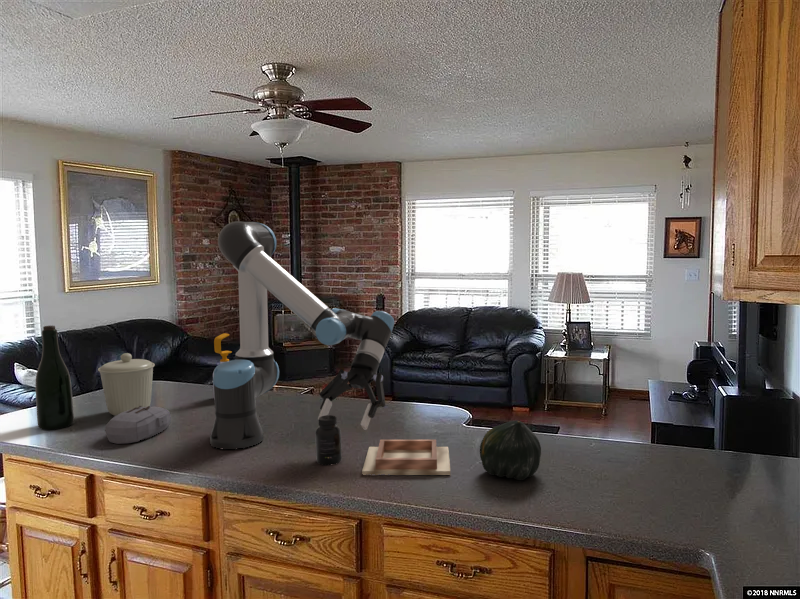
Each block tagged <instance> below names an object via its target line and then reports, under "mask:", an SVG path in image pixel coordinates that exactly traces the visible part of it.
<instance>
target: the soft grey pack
mask: <svg viewBox="0 0 800 599" xmlns="http://www.w3.org/2000/svg"><path fill="white" fill-rule="evenodd" d="M171 422H172V416H171V412H170V411H169V409H167V408H165V407H160V406H151V405H150V406H148V407H142V406H139V407H137V408H134V409H130V410H128V411H125V412H122V413H120V414H118V415H116V416H114V415H113V417H112V418H111V419H110V420H109V421H108V422H107V423H106V424H105V427H104V432H105V435H106V437H107V440H108V441H109V443H112V444H113V443H114V444H119V445H120V444H131V443H137V442H141V441H143V440H144V439H145V440H148V439H150V438H153V437H154V435H155V436H157V435H159V434H161V433H162V432H164V431H165V430H166V429H168V428H169V427H170V425H171ZM163 430H164V431H163ZM160 432H161V433H160ZM158 433H159V434H158ZM156 434H157V435H156ZM152 436H153V437H152ZM149 437H150V438H149ZM147 438H148V439H147ZM140 440H141V441H140ZM145 440H144V441H145Z"/></svg>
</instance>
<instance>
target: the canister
mask: <svg viewBox="0 0 800 599" xmlns="http://www.w3.org/2000/svg"><path fill="white" fill-rule="evenodd" d="M155 366H156V365H155V363H154V362H152V361H150V360H149V359H148V360H147V359H144V358H143V359H142V358H133V356H132V354H131V353H130V352H129V353H128V352H126V353H125V352H124V353H123V354H121V355H120V360H115V361H109V362H106V363H105V364H102V366H100V367H98V369H97V371H98V372H99V373H100V378H101V384H102V391H103V395H104V399H105V403H106V409H107V411H108V412H109V414H110V415H112V416H113V417H114V416H116V415H118V414H120V413H122V412H125V411H128V410H130V409H134V408H137V407H139V406H142V407H148V406H150V407H151V402H152V391H153V389H152V388H153V374H154V372H153V371H154V367H155Z"/></svg>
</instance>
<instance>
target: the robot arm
mask: <svg viewBox="0 0 800 599" xmlns="http://www.w3.org/2000/svg"><path fill="white" fill-rule="evenodd" d="M217 245H218V249H219V251H220V253H221V254H222V256H224V258H225V259H226V260H227V261H228V262H230V264H232V267H233V268H234V269H235V270H236V271H237V272H238V273H237V275H238V276H237V278H238V281H237V282H238V308H239V309H238V311H239V314H238V316H239V344H240V346H239V349H238V350H237V351H236V352H235V359H232V360H229V362H224V363H221V364H220V363H219V364H218V365H216V367H215V368H214V370H213V372H214V377H213V376H212V381H213V382H212V384H213V383H214V390H213V399H214V413H215V414H214V415H215V416H214V422H213V426H212V428H211V431H210V432H211V433H210V437H209V439H210V440H209V442H210V444H211V445H210V446H211V447H212V446H213V447H212V448H214V447H216V448H215V449H217V448H223V449H235V450H237V449H236V448H243V449H246V448H245V447H248V448H250V447H249V446H252V447H254V446H253V445H255V446H257V445H259V444H261V443H262V442H263V441H264V431H263V428H262V426H261V424H260V420H259V418H258V415H257V402H256V399H257V398H258V397H260V396H261V395H263V394H266V393H268V392H269V391H271V390H272V389H273V387H275V385H276V384H277V383H278V380H279V378H280V368H279V367H280V366H279V365H278V363H277V361H275V358H274V351H273V350H272V349H271V348H270V347H269V324H268V323H269V320H268V319H269V317H268V316H269V314H268V312H269V311H268V292H270V294H272V296H274V297H275V298H277V300H278V301H280V302H281V304H283V305H284V306H286V308H288V309H289V310H290V311H291V312H292V313H294V315H296V316H297V317H298V318H299V319H300V320H302V321H303V322H304V323H305V324H306V325H308V326H309V328H311V329H312V330H313V331H314V332H315V336H316V338H317V340H318V342H320V343H321V344H322V345H325V346H333V345H334V346H335V345H337V344H340V343H341V342H342V341H344V340H345V339H348V338H350V339H355V340H358V341H360V343H359V345H358V348H357V350H356V352H355V355H354V357H353V360H352V363H351V365H350V370H348V371H344V369H342V368H341V369H339V370H338V372H337V374H336V376H335V377H334V378H332V380H331V381H329V383H328V384H327V385H326V386H325V387H324V388H323V389H322V390H321V391H320V392H319V394H318V395H319V397H320V398H322V402H321V404H320V412H319V414H318V417H317V420H318V421H319V417H321V416H326V415H329V413H330V410H331V408H332V406H333V402H332V401H334V400H335V399H337V398H338V397H339V396H341V395H342V394H343V393H345V392H346V391H348V390H351V389H352V388H353V389H360V390H363V389H365V391H366V394H367V395H368V398H369V400H370V403H367V406H366V408H365V411H364V413H363V416H362V419H361V421H360V424H359V425H360V427H361V428H362V429H363V430H364V431H366V430H368V428H369V425H370V422H371V419H374V417H375V416H376V413H377V410H378V409H379V408H381V407H382V408H385V407H386V399H385V391H384V380H385V376H383V375H382V373H381V372H378V370H379V366H380V363H381V361H382V359H383V356H384V355H385V354H384V353H385V351H386V348H387V346H388V343H389V341H390V338H391V336H392V333H393V329H394V327H395V326H394V325H395V319H394V317H393V316H392V315H391V314H389V313H388V312H386V311H383V310H379V311H378V310H376V311H374V312H373V313H371V315H370V316H369V315H364V314H361V313H356V312H352V311H349V310H347V309H343V308H342V309H341V308H336V307H335V308H329V306H328V305H327V304H325V303H324V302H323V301H322V300H320V299H319V297H317V296H316V295H315V294H314V293H312V292H311V291H310V289H308V288H307V287H305V286H304V285H303V284H302V283H301V282H299V281H298V280H297V279H296V278H295V277H294V276H293V275H292V274H291V273H289V272H288V271H287V270H286V269H285V268H284V267H282V266H281V264H279V263H278V262H277V261H276V260H274V259H273V258H272V255H273V254H274V253H275V251H276V249H277V238H276V235H275V232H274V231H273V230H272V229H271V228H270V227H269V226H267V224H264V223H260V222H257V221H240V220H239V221H231V222H229V223H227V224H226V225H225V226H223V228H222V229H221V230H220V232H219V234H218V239H217ZM372 382H375V386H376V396H377V397H376V396H375V393H374V392H373V389H372V385H371V383H372ZM262 440H263V441H262ZM261 441H262V442H261ZM260 442H261V443H260ZM258 443H259V444H258ZM256 444H257V445H256ZM223 449H222V450H223Z"/></svg>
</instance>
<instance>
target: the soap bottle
mask: <svg viewBox="0 0 800 599" xmlns="http://www.w3.org/2000/svg"><path fill="white" fill-rule="evenodd" d="M229 336H230V334H229V333H224V332H223V333H222V334H219V335H217V336H216V337H215V338H214V341H213V346H214V352H215V353H216V354H220V356H221V359H219V360H220V361H219V364H221V363H224V362H229V361H230V359H229V358H228V357H227V356H229V354H231V353H232V352H233V351H231V350H222V343H221V342H222V340H224V339H225V338H227V337H229ZM213 377H214V371H213V373H212V378H213ZM212 385H213V386H212V387H213V391H214V383H213V382H212Z"/></svg>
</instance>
